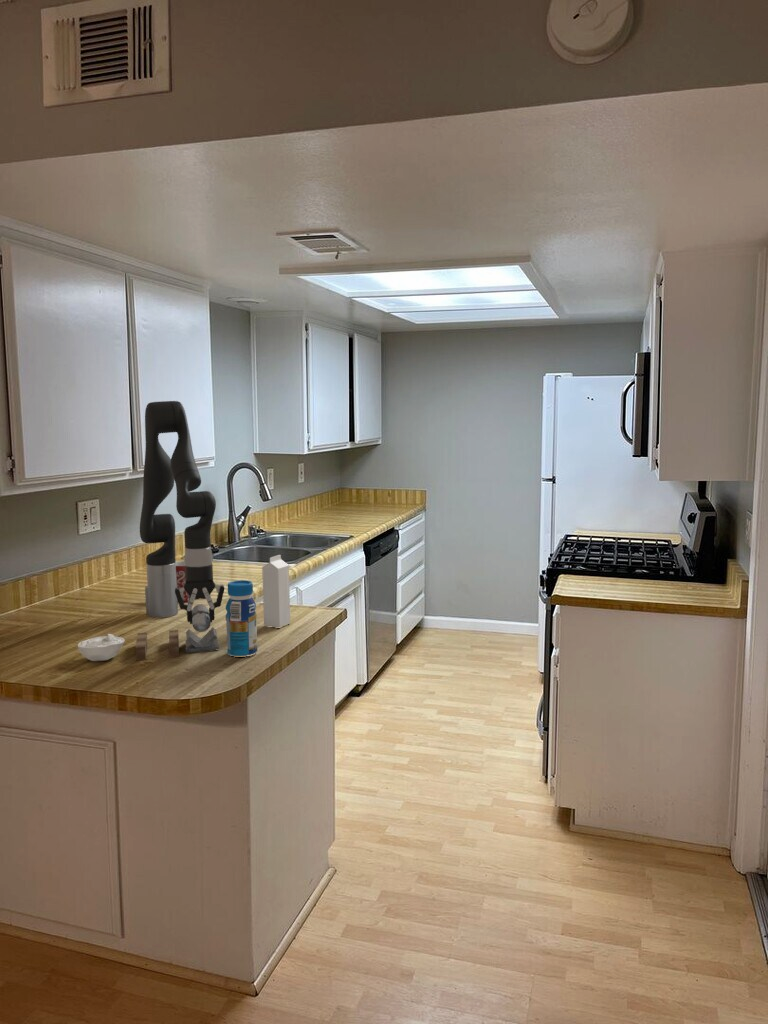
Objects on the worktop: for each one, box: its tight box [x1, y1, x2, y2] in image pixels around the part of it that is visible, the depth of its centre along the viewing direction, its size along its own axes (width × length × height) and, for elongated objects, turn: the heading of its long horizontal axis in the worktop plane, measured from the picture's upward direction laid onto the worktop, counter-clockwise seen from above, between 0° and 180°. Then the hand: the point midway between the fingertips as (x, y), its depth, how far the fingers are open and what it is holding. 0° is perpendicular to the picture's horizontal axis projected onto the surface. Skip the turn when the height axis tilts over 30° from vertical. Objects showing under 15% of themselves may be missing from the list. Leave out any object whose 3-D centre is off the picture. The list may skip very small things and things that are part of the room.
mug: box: [176, 560, 190, 603], centre depth 269 cm, size 13×9×14 cm
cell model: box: [77, 633, 126, 662], centre depth 206 cm, size 10×12×7 cm
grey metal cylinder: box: [191, 604, 212, 633], centre depth 214 cm, size 12×5×5 cm, turn 15°
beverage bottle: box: [225, 579, 258, 657], centre depth 209 cm, size 8×8×20 cm
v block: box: [184, 627, 220, 654], centre depth 216 cm, size 9×9×4 cm
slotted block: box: [134, 629, 180, 661], centre depth 213 cm, size 14×11×4 cm
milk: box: [261, 554, 291, 627], centre depth 236 cm, size 6×6×22 cm
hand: (201, 622), depth 214 cm, fingers closed on grey metal cylinder, 4 cm apart
